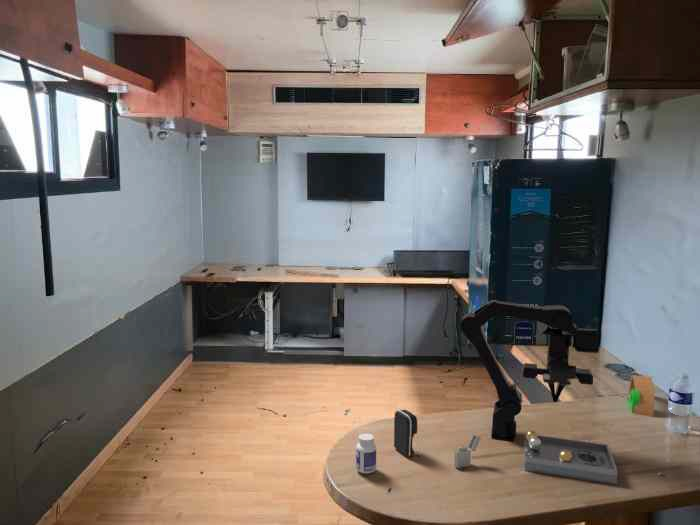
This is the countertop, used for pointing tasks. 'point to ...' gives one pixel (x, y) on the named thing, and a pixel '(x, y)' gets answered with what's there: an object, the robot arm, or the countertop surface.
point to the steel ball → (534, 443)
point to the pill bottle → (366, 454)
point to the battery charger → (404, 431)
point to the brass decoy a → (531, 434)
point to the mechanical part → (633, 399)
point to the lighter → (466, 452)
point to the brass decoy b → (565, 456)
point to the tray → (585, 465)
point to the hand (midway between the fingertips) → (554, 401)
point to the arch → (643, 394)
